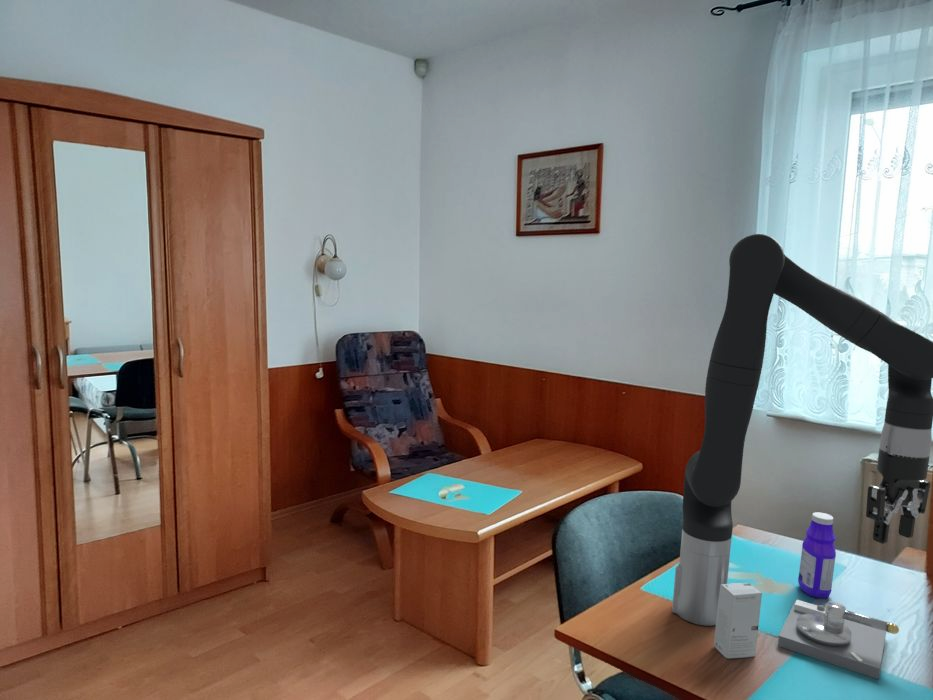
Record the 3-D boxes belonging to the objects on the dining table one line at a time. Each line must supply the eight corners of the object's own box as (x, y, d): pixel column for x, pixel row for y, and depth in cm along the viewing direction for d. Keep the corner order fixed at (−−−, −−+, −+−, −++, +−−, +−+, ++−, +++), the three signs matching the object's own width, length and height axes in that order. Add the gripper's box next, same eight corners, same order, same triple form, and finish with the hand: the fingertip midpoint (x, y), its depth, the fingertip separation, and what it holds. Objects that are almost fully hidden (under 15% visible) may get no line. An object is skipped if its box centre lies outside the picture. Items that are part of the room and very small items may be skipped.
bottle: (835, 600, 142) (845, 522, 140) (809, 599, 142) (818, 521, 140) (818, 584, 149) (827, 509, 147) (792, 583, 149) (801, 508, 147)
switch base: (777, 645, 124) (780, 625, 124) (793, 610, 137) (795, 592, 137) (878, 679, 115) (881, 657, 115) (885, 638, 128) (887, 619, 128)
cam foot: (792, 634, 124) (795, 605, 123) (801, 614, 131) (804, 586, 131) (893, 667, 115) (898, 635, 114) (897, 643, 122) (901, 614, 121)
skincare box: (726, 660, 119) (733, 595, 117) (712, 645, 123) (718, 583, 122) (757, 656, 121) (764, 593, 119) (741, 642, 125) (748, 581, 123)
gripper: (908, 441, 125) (897, 526, 127) (857, 447, 119) (846, 536, 121) (951, 452, 118) (938, 541, 121) (899, 459, 112) (887, 553, 115)
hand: (892, 538), depth 121 cm, fingers open, 6 cm apart
